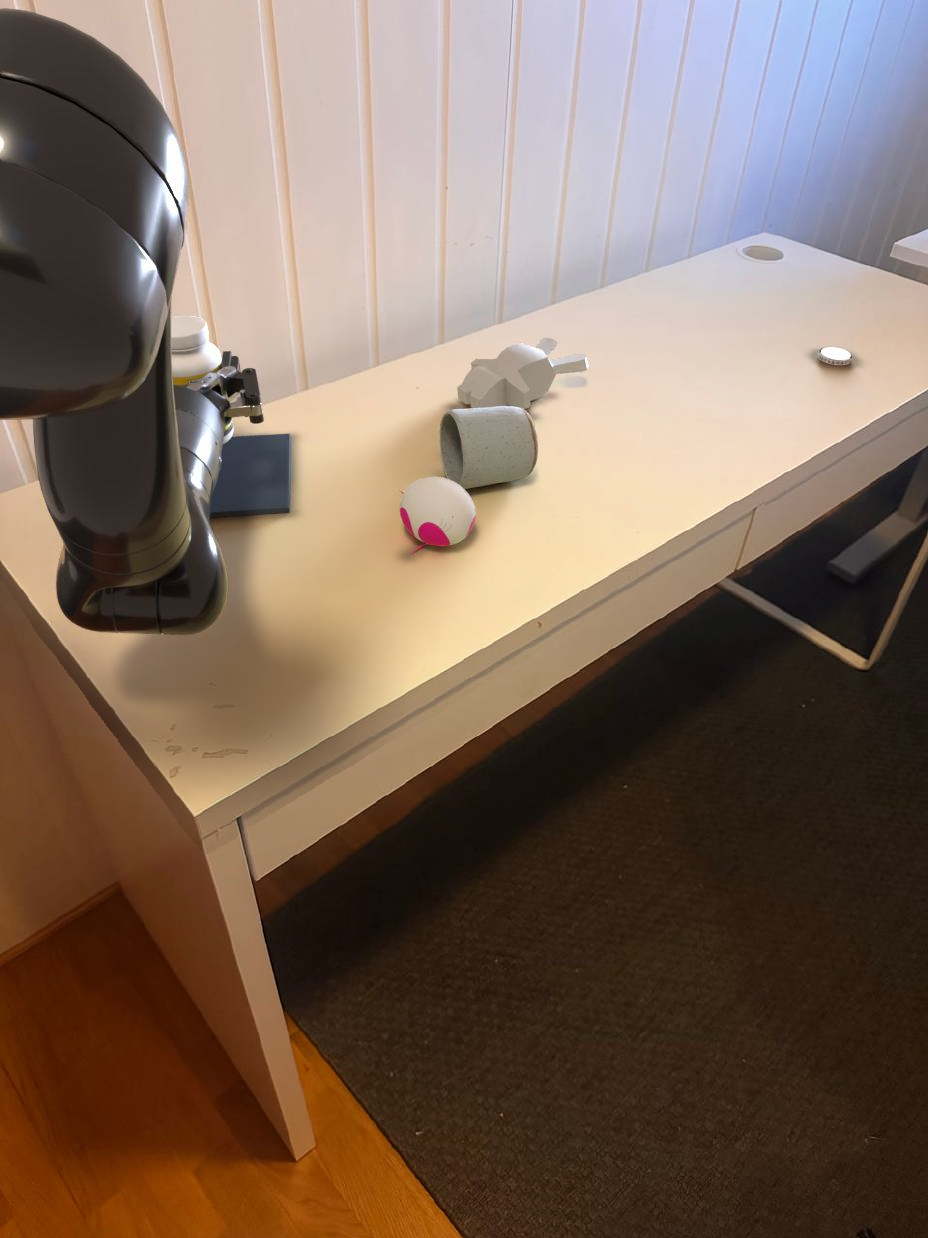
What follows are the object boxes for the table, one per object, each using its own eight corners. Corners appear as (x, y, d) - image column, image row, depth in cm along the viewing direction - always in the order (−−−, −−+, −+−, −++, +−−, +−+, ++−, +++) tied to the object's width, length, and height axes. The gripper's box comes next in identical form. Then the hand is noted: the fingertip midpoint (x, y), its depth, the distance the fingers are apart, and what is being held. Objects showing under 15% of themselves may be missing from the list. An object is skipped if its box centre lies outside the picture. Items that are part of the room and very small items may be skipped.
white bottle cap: (855, 365, 110) (856, 360, 110) (822, 364, 110) (824, 359, 110) (845, 351, 113) (847, 346, 113) (813, 350, 113) (815, 345, 113)
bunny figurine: (440, 364, 100) (541, 317, 106) (444, 404, 103) (542, 356, 109) (494, 396, 94) (597, 345, 100) (496, 437, 98) (596, 385, 104)
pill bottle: (157, 434, 86) (130, 322, 79) (215, 415, 89) (194, 305, 82) (187, 460, 82) (162, 345, 75) (246, 439, 85) (228, 327, 78)
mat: (137, 522, 83) (135, 517, 83) (155, 445, 93) (154, 440, 93) (289, 512, 85) (288, 507, 84) (290, 438, 95) (289, 433, 95)
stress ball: (397, 558, 85) (362, 527, 79) (443, 489, 86) (412, 453, 80) (455, 590, 81) (423, 560, 75) (503, 518, 82) (475, 482, 76)
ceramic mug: (540, 490, 88) (545, 419, 83) (462, 505, 86) (463, 433, 81) (499, 440, 96) (502, 372, 91) (427, 452, 93) (426, 384, 88)
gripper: (257, 404, 69) (264, 319, 82) (64, 415, 68) (101, 326, 80) (270, 487, 74) (274, 395, 87) (90, 499, 72) (121, 403, 85)
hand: (191, 362), depth 83 cm, fingers closed on pill bottle, 6 cm apart
